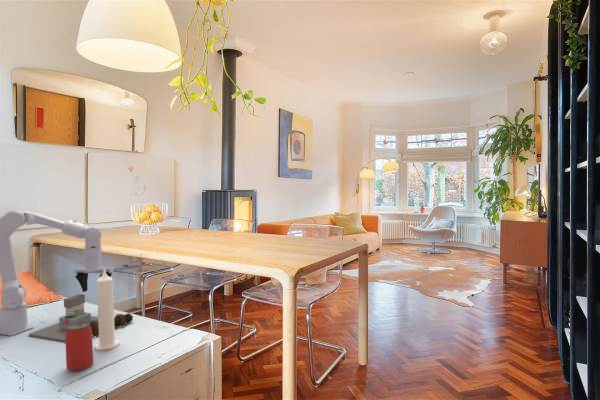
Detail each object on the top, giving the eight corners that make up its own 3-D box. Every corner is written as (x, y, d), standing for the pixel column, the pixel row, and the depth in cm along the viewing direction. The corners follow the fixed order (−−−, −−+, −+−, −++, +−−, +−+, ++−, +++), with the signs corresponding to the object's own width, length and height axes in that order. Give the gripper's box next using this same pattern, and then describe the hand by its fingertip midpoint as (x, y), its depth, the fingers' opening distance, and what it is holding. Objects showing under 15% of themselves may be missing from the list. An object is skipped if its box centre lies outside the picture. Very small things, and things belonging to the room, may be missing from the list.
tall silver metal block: (63, 320, 132) (62, 298, 132) (78, 315, 137) (77, 294, 137) (71, 321, 130) (71, 299, 130) (86, 316, 136) (86, 295, 136)
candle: (92, 352, 114) (88, 272, 113) (98, 343, 121) (95, 268, 120) (117, 349, 116) (113, 270, 115) (121, 340, 123) (118, 266, 122)
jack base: (28, 336, 128) (27, 320, 128) (80, 316, 147) (79, 303, 147) (70, 343, 121) (69, 327, 121) (118, 321, 140) (118, 308, 140)
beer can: (97, 360, 108) (96, 320, 108) (85, 371, 102) (83, 329, 101) (75, 361, 108) (73, 321, 108) (61, 372, 101) (59, 330, 101)
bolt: (132, 327, 140) (93, 340, 126) (124, 319, 142) (86, 331, 129) (137, 315, 138) (98, 327, 125) (129, 307, 140) (90, 318, 127)
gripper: (68, 259, 142) (70, 294, 142) (106, 258, 142) (108, 293, 143) (79, 256, 149) (80, 289, 149) (115, 255, 149) (116, 288, 150)
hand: (94, 290), depth 146 cm, fingers open, 7 cm apart
